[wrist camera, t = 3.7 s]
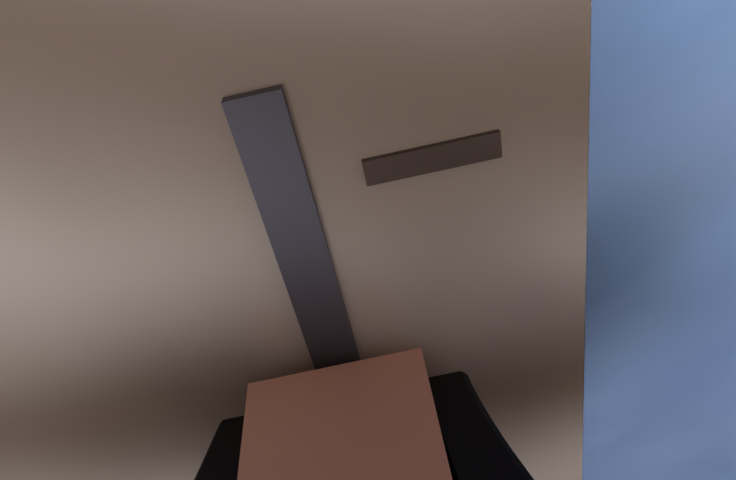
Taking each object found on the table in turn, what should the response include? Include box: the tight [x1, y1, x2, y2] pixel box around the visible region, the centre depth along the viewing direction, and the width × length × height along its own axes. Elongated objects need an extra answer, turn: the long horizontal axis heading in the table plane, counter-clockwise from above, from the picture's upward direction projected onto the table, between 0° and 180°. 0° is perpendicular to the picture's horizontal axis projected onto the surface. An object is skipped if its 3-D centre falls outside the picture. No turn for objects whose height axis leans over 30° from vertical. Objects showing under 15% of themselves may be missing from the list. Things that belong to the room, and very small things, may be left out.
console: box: [0, 0, 591, 480], centre depth 12 cm, size 16×19×2 cm
